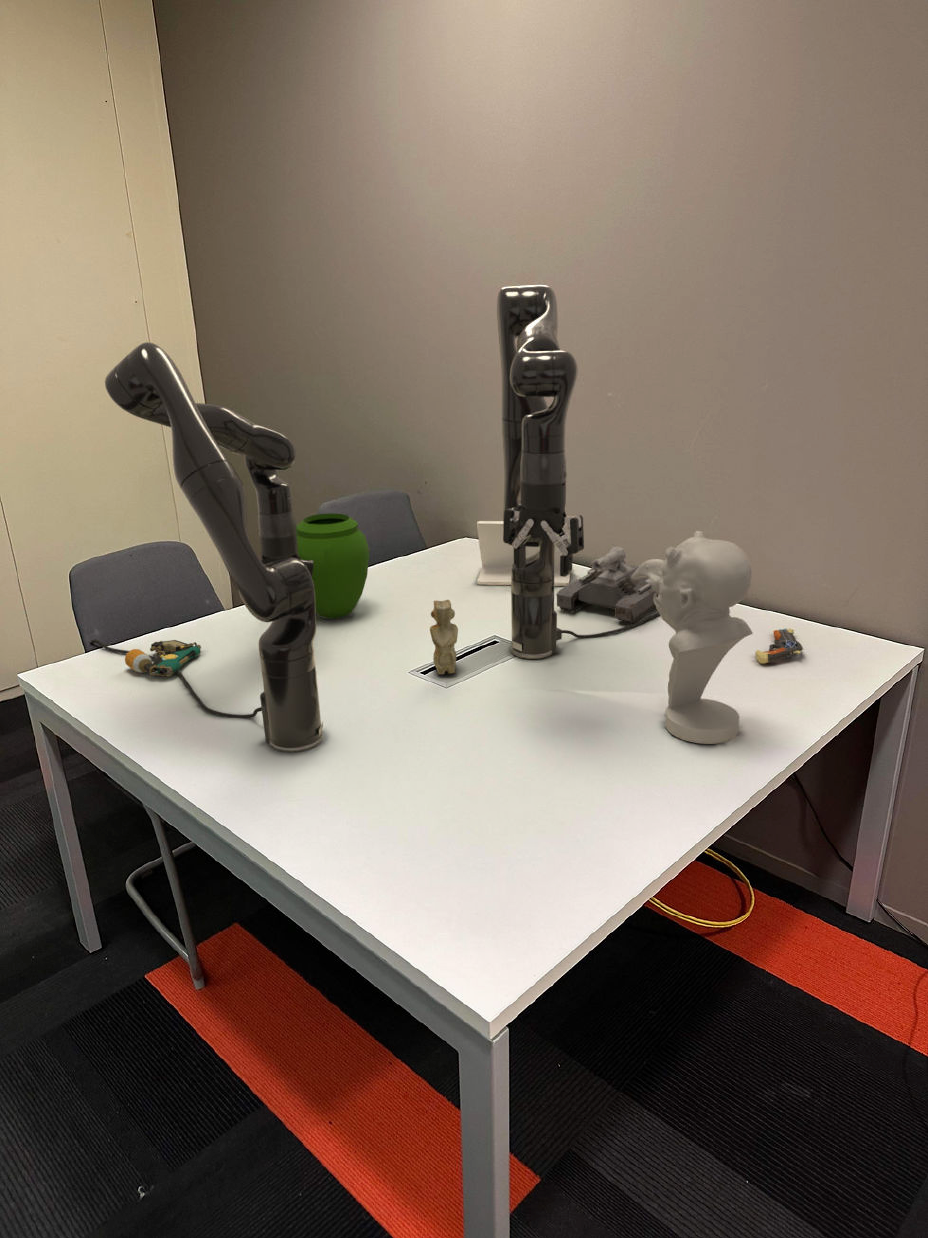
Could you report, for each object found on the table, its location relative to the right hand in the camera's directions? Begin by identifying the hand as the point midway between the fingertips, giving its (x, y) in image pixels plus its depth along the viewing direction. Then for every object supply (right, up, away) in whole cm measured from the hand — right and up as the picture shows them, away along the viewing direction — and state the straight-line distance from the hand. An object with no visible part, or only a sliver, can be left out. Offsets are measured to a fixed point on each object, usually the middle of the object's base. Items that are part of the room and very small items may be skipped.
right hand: (542, 571), depth 146 cm
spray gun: (-79, -18, +41) cm, 90 cm away
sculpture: (-17, -19, +33) cm, 42 cm away
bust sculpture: (+26, -27, +9) cm, 39 cm away
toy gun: (+54, -15, +39) cm, 68 cm away
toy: (+25, -5, +68) cm, 73 cm away
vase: (-46, -7, +68) cm, 82 cm away
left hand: (-52, -6, +36) cm, 63 cm away
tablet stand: (+4, +4, +93) cm, 93 cm away
